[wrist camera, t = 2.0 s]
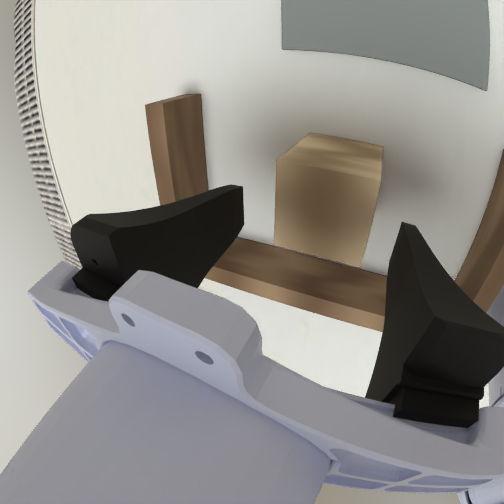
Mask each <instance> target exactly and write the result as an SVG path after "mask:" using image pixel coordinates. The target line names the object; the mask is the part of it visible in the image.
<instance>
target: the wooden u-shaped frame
mask: <svg viewBox="0 0 504 504" xmlns="http://www.w3.org/2000/svg"><path fill="white" fill-rule="evenodd" d="M145 109H146V117H147V125H148V133H149V140H150V147H151V154H152V160H153V166H154V172H155V178H156V184H157V190H158V195H159V200H160V206H161V205H165V204H169V203H173V202H176V201H179V200H182V199H185V198H189V197H192V196H195V195H198V194H201V193H204V192H207V191H208V183H207V172H206V160H205V148H204V135H203V121H202V106H201V94H188V95H181V96H176V97H172V98H168V99H165V100H161V101H157V102H154V103H150V104H147V105H145ZM204 278H206V279H209V280H212V281H215V282H218V283H221V284H224V285H227V286H230V287H233V288H236V289H239V290H243V291H246V292H249V293H252V294H255V295H258V296H261V297H264V298H267V299H271V300H274V301H277V302H280V303H284V304H287V305H290V306H293V307H297V308H300V309H303V310H307V311H310V312H313V313H317V314H320V315H323V316H327V317H330V318H334V319H337V320H341V321H344V322H348V323H351V324H355V325H359V326H362V327H366V328H370V329H373V330H377V331H381V332H383V328H384V319H385V304H386V283H387V276H383V275H379V274H376V273H372V272H368V271H365V270H361V269H357V268H353V267H350V266H346V265H342V264H338V263H335V262H331V261H327V260H323V259H320V258H316V257H312V256H308V255H304V254H301V253H297V252H293V251H289V250H285V249H282V248H278V247H274V246H270V245H266V244H262V243H258V242H254V241H251V240H247V239H243V238H239V237H236V239H235V240H234V242H233V243H232V244H231V245H230V247H229V248H228V249H227V250H226V252H225V253H224V254H223V255H222V256H221V257H220V259H219V260H218V261H217V262H216V263H215V265H214V266H213V267H212V268H211V269H210V271H209V272H208V273H207V275H206V276H205V277H204ZM455 283H456V284H457V285H458V286H459V287H460V288H461V289H462V290H463V292H464V293H465V294H466V295H467V296H468V297H469V298H470V299H471V300H472V301H473V302H474V303H475V304H477V305H478V306H479V307H480V308H481V309H482V310H483V311H484V312H486V313H487V311H488V310H489V308H490V307H491V305H492V304H493V302H494V300H495V299H496V297H497V296H498V294H499V292H500V291H501V289H502V287H503V286H504V150H503V155H502V159H501V163H500V166H499V170H498V174H497V177H496V181H495V184H494V187H493V190H492V194H491V197H490V200H489V202H488V205H487V208H486V211H485V214H484V216H483V219H482V222H481V224H480V227H479V229H478V232H477V234H476V237H475V239H474V241H473V244H472V246H471V248H470V251H469V253H468V255H467V257H466V259H465V261H464V264H463V266H462V268H461V270H460V272H459V274H458V276H457V278H456V280H455Z"/></svg>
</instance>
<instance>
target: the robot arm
mask: <svg viewBox="0 0 504 504" xmlns="http://www.w3.org/2000/svg"><path fill="white" fill-rule="evenodd" d="M243 225H244V206H243V187H242V186H236V185H226V186H222V187H219V188H216V189H213V190H210V191H207V192H204V193H201V194H198V195H195V196H192V197H189V198H185V199H182V200H179V201H176V202H173V203H169V204H165V205H161V206H157V207H153V208H147V209H142V210H136V211H129V212H120V213H107V214H89V215H86V216H85V217H84V218H82V219H81V220H79V221H78V222H77V223H75V224H74V225H73V226H72V228H71V239H72V243H73V246H74V248H75V251H76V253H77V255H78V258H79V260H80V262H81V264H82V267H83V268H82V269H81V270H80V271H79V272H78V270H77V269H76V268H75V267H74V266H72V265H70V264H68V263H67V262H65V261H61V262H60V263H59V264H58V265H57V266H55V267H54V268H53V269H52V270H51V271H50V272H48V273H47V274H46V275H45V276H44V277H43V278H42V279H41V280H40V281H38V282H37V283H36V284H35V285H34V286H33V287H32V288H31V289H30V290H29V291H28V295H29V296H30V298H31V299H32V301H33V302H34V304H35V306H36V307H37V309H38V310H39V312H40V313H41V315H42V316H43V318H44V319H45V320H46V322H47V323H48V325H49V326H50V328H51V329H52V330H53V331H54V332H55V333H57V334H58V335H59V336H60V337H61V338H62V339H63V340H64V341H65V342H66V343H67V344H69V346H71V347H72V348H73V349H74V350H75V351H76V352H77V353H78V354H79V355H80V356H81V357H83V358H84V359H85V360H86V361H87V362H88V364H87V365H86V366H85V367H84V369H83V370H82V371H81V372H80V373H79V374H78V375H77V377H76V378H75V379H74V380H73V382H72V383H71V384H70V385H69V387H67V389H66V390H65V391H64V392H63V393H62V395H61V396H60V397H59V398H58V400H57V401H56V402H55V403H54V405H53V406H52V407H51V408H50V410H49V411H48V412H47V413H46V414H45V416H44V417H43V418H42V420H41V421H40V422H39V423H38V425H37V426H36V427H35V429H34V430H33V431H32V432H31V434H30V435H29V436H28V438H27V439H26V440H25V442H24V443H23V444H22V446H21V447H20V448H19V450H18V451H17V452H16V454H15V455H14V456H13V458H12V459H11V461H10V462H9V463H8V465H7V466H6V468H5V469H4V470H3V472H2V473H1V475H0V504H314V503H315V501H316V498H317V496H318V494H319V492H320V489H321V487H322V485H323V483H325V484H331V485H336V486H342V487H349V488H356V489H364V490H373V491H386V492H402V493H457V494H458V498H459V501H460V503H461V504H504V286H503V287H502V289H501V291H500V292H499V294H498V296H497V297H496V299H495V300H494V302H493V304H492V305H491V307H490V308H489V310H488V311H487V313H486V312H484V311H483V310H482V309H481V308H480V307H479V306H478V305H477V304H475V303H474V302H473V301H472V300H471V299H470V298H469V297H468V296H467V295H466V294H465V293H464V292H463V290H462V289H461V288H460V287H459V286H458V285H457V284H456V283H455V282H454V280H453V279H452V278H451V277H450V276H449V274H448V273H447V272H446V271H445V269H444V268H443V267H442V265H441V264H440V262H439V261H438V260H437V258H436V257H435V255H434V254H433V252H432V251H431V249H430V248H429V246H428V244H427V243H426V241H425V240H424V238H423V237H422V235H421V233H420V232H419V230H418V229H417V227H416V226H415V225H411V224H408V223H404V222H402V223H401V227H400V230H399V233H398V237H397V240H396V243H395V246H394V249H393V252H392V255H391V258H390V262H389V268H388V275H387V283H386V304H385V319H384V328H383V334H382V338H381V343H380V347H379V352H378V356H377V360H376V363H375V367H374V371H373V374H372V378H371V381H370V384H369V387H368V390H367V393H366V396H365V398H363V397H359V396H355V395H352V394H348V393H344V392H340V391H337V390H333V389H330V388H326V387H323V386H321V385H319V384H317V383H315V382H313V381H311V380H309V379H307V378H305V377H303V376H301V375H300V374H298V373H296V372H294V371H292V370H290V369H288V368H286V367H284V366H283V365H281V364H279V363H277V362H275V361H273V360H272V359H270V358H268V357H266V356H264V355H263V354H262V337H261V334H260V331H259V328H258V325H257V323H256V321H255V320H254V319H253V318H252V317H251V316H250V315H249V314H248V313H247V312H246V311H245V310H244V309H243V308H242V307H240V306H238V305H236V304H235V303H233V302H231V301H229V300H227V299H225V298H223V297H220V296H217V295H214V294H211V293H209V292H206V291H203V290H200V289H197V288H198V287H199V285H200V284H201V282H202V280H203V279H204V277H205V276H206V275H207V273H208V272H209V271H210V269H211V268H212V267H213V266H214V265H215V263H216V262H217V261H218V260H219V259H220V257H221V256H222V255H223V254H224V253H225V252H226V250H227V249H228V248H229V247H230V245H231V244H232V243H233V242H234V240H235V239H236V237H237V236H238V234H239V232H240V231H241V229H242V227H243ZM488 382H489V407H483V408H480V409H479V400H481V399H482V398H483V396H484V386H485V385H486V384H487V383H488Z"/></svg>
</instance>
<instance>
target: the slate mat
mask: <svg viewBox="0 0 504 504" xmlns="http://www.w3.org/2000/svg"><path fill="white" fill-rule="evenodd" d="M281 19H282V49H283V50H307V51H321V52H332V53H342V54H350V55H357V56H364V57H370V58H375V59H381V60H386V61H391V62H396V63H400V64H404V65H409V66H413V67H417V68H420V69H424V70H428V71H431V72H435V73H438V74H441V75H444V76H447V77H450V78H453V79H456V80H459V81H462V82H465V83H467V84H470V85H473V86H475V87H478V88H480V89H483V90H485V91H487V86H488V75H489V56H490V28H489V10H488V0H281Z"/></svg>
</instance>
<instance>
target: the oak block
mask: <svg viewBox="0 0 504 504" xmlns="http://www.w3.org/2000/svg"><path fill="white" fill-rule="evenodd" d="M382 157H383V146H378V145H374V144H369V143H365V142H360V141H355V140H350V139H345V138H339V137H333V136H328V135H322V134H315V133H309V134H308V135H307V136H306V137H304V138H303V139H302V140H301V141H299V142H298V143H297V144H296V145H294V146H293V147H292V148H291V149H290V150H288V151H287V152H286V153H285V154H283V155H282V156H281V157H280V158H279V159H277V160H276V193H275V225H274V245H275V246H279V247H283V248H287V249H291V250H295V251H299V252H302V253H306V254H310V255H314V256H318V257H322V258H325V259H329V260H333V261H337V262H341V263H344V264H348V265H352V266H356V267H359V268H360V267H361V264H362V260H363V256H364V253H365V249H366V245H367V241H368V237H369V233H370V229H371V225H372V221H373V217H374V212H375V208H376V203H377V199H378V194H379V189H380V184H381V175H382Z"/></svg>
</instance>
